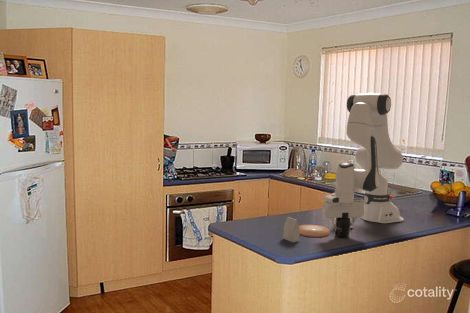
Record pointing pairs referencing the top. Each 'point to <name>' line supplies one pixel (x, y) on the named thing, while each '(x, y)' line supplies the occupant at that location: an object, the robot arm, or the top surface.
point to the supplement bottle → (342, 226)
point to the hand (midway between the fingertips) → (342, 226)
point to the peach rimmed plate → (314, 230)
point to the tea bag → (291, 230)
